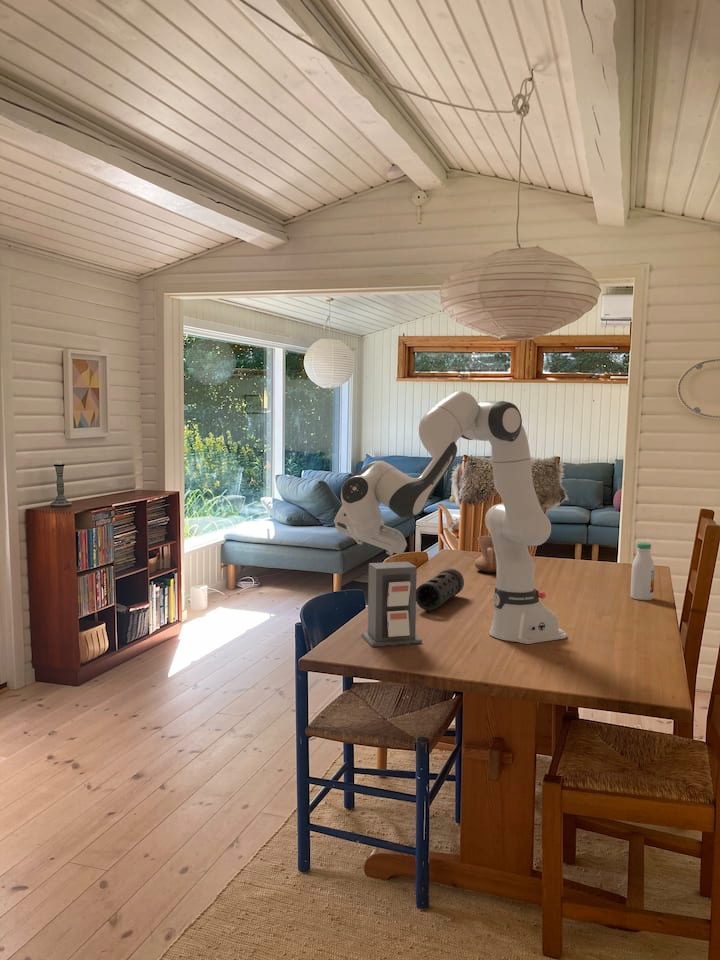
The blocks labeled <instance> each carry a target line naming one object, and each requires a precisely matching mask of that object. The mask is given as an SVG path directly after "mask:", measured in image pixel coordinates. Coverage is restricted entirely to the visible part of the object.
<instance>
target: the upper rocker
mask: <svg viewBox="0 0 720 960" xmlns="http://www.w3.org/2000/svg"><path fill="white" fill-rule="evenodd" d="M410 585H411V583H410V582H409V581H407V582H389V588H388V593H387V596H388V598H387V606H388V607H389V606H406V605H408V603H409V595H410Z"/></svg>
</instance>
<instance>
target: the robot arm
mask: <svg viewBox="0 0 720 960" xmlns="http://www.w3.org/2000/svg"><path fill="white" fill-rule="evenodd" d="M418 436H419V439H420V441H421V443H422V446H423V447H424V448H425V450H426V451H427V452H428V453H429V455H430V456H431V458H432V459H431V461H429V463H428V465H427V466H426V468H425V469H424V471H423V472H422V473H421V474H420V476H419V477H412V476H409V475H407V474H406V473H405V472H403V471H401V470H399V469H398V468H397V467H396V466H394V465H392V464H390V463H388V462H386V461H385V460H382V459H379V460H374V461H372V462H370V463H368V464H366V465H365V466H364V467H362V469H360V471H359V472H358V473H357V475H355V476H351V477H349V478H348V479H347V480H346V481H344V483H343V484H342V487H341V490H340V491H341V492H340V501H341V506H340V508H339V510H338V511H337V514H336V516H335V517H334V520H333V523H334V525H335V529H336V530H337V531H338V533H340V534H342V535H345V536H347V537H350V538H351V539H353V540H354V541H356V543H357V544H358V545H363V543H367V544H369V545H372V546H376V547H378V548H380V549H382V550H385V553H386V555H388V556H390V557H391V556H393V554H397V555H401V554H403V553H404V552H405V551H406V548H407V546H408V543H407V541H406V538H405V536H404V534H403V533H402V532H401V531H400V530H398V529H396V528H393V527H390V526H388V525H385V523H384V518H383V515H382V511H381V508H380V505H381V504H382V505H384V506H385V507H387V508H388V509H389V510H390V511H391V512H393V513H394V514H395V515H397V516H398V517H399V518H401V519H408V518H412V517H417V516H418V515H419V514H420V512H422V510H423V509H424V508H425V505H426V504H427V502H428V500H429V498H430V497H431V494H432V493H433V492H434V491H435V489H436V487H437V486H438V485H439V483H440V482H441V480H442V478H444V476H445V474H447V472H448V470H449V469H450V467H451V466H452V464H454V463H453V462H454V461H455V459H456V457H457V453H458V446H457V444H456V443H457V441H458V440H460V438H462V439H463V440H469V441H481V442H483V441H484V442H485V441H486V442H489V444H490V446H491V465H492V474H493V485H494V488H495V490H496V492H497V493H498V494H499V496H500V499H501V501H502V502H501V503H498V504H494V505H492V506H491V507H489V508H488V510H487V512H486V513H485V517H484V523H485V526H486V528H487V530H488V532H489V534H490V536H491V537H492V541H493V545H494V550H495V555H496V563H497V573H496V579H495V580H496V581H495V584H496V585H495V586H494V595H493V597H494V598H493V599H494V600H493V601H494V613H493V618H492V622H491V627H490V630H489V635H490V636H491V637H494V638H496V639H498V640H503V641H508V642H517V643H520V644H525V645H528V644H529V645H531V644H537V643H543V642H549V641H556V640H564V639H566V638H567V633H566V631H564V630H563V629H562V628H560V627H559V626H560V625H559V621H558V617H557V616H556V613H555V612H553V611H552V610H551V609H549V608H548V607H547V606H546V605H545V604H544V603H542V602H541V601H540V599H542V600H544V599H546V597H547V594H546V592H544V591H542V590H537V589H536V588H535V574H536V573H535V571H536V570H535V569H536V568H535V566H536V565H535V562H534V559H533V557H532V556H531V554H530V551H529V547H534V546H536V547H537V546H541V545H543V544H545V542H547V540H549V537H550V536H551V533H552V523H551V521H550V518H549V517H548V516H547V515H546V513H544V510H543V509H542V506H541V504H540V503H541V502H540V501H539V498H538V496H537V493H536V490H535V486H534V481H533V472H532V463H531V461H532V460H531V453H530V446H529V445H530V444H529V439H528V437H527V433H526V429H525V427H524V426H523V419H522V415H521V411H520V409H519V407H517V405H515V404H514V403H512V402H509V401H505V400H499V401H496V400H493V401H492V400H485V401H481V402H480V401H479V402H478V401H477V399H476V398H475V397H474V396H473V395H472V394H470V393H469V392H467V391H461V390H460V391H454V393H451V394H449V395H448V396H447V397H445V398H444V399H442V400H440V401H439V402H437V404H435V405H434V406H433V407H432V408H430V410H428V412H426V413H425V414H424V416H422V418H421V420H420V421H419V425H418ZM539 598H540V599H539Z"/></svg>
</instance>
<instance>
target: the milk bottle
mask: <svg viewBox="0 0 720 960" xmlns="http://www.w3.org/2000/svg"><path fill="white" fill-rule="evenodd" d="M651 548H652V544H651V543H650V542H649V543H648V542H638V543H637V544H636V549H637V552H636V555H635V557H634V559H633V562H632V563H631V564H632V565H631V574H630V575H631V577H630V597H631V599H635V600H638V601H651V600H653V599H654V590H655V589H654V585H655V564H654V560H653V559H652V554H651V550H652V549H651Z"/></svg>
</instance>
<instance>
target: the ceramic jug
mask: <svg viewBox="0 0 720 960" xmlns="http://www.w3.org/2000/svg"><path fill="white" fill-rule="evenodd" d="M477 541H478V545H479V549H480V551H481V554H482V555H480V556H479V557H477V558H476V559H475V561H474V566H475V568H476V569H477V570H479V571H482V572H485V573H490V574H492V573H493V574H497V563H496V555H495V550H494V545H493V541H492V537H491V535H481V536H479V537H477Z"/></svg>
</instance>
